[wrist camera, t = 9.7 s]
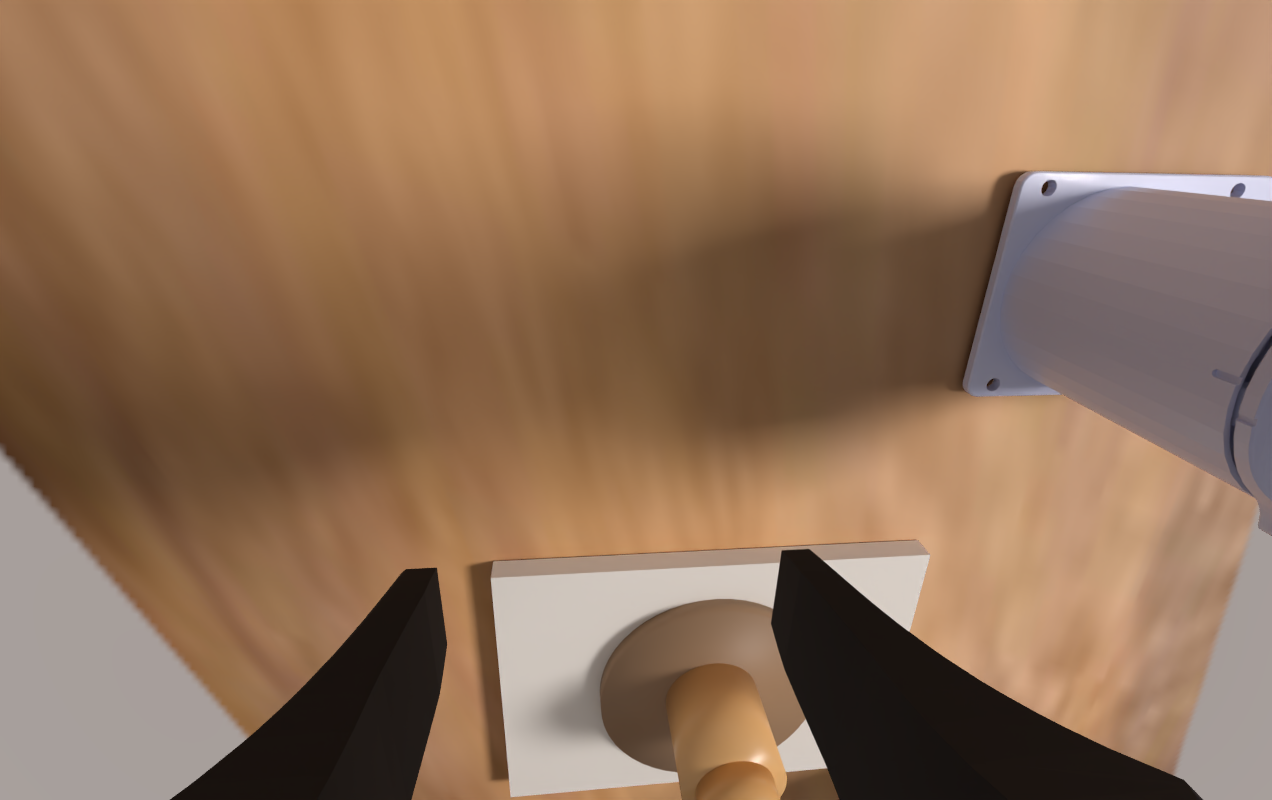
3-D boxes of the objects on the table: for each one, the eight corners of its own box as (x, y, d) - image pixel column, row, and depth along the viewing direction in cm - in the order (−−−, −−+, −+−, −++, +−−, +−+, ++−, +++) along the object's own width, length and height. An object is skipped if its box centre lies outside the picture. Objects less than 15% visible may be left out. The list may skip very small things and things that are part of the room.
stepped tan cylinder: (739, 650, 25) (782, 778, 20) (768, 709, 27) (814, 840, 22) (651, 685, 26) (672, 820, 21) (685, 741, 27) (712, 878, 22)
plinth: (917, 539, 26) (941, 567, 25) (864, 745, 32) (881, 779, 30) (493, 561, 24) (488, 592, 23) (512, 776, 30) (509, 814, 28)
